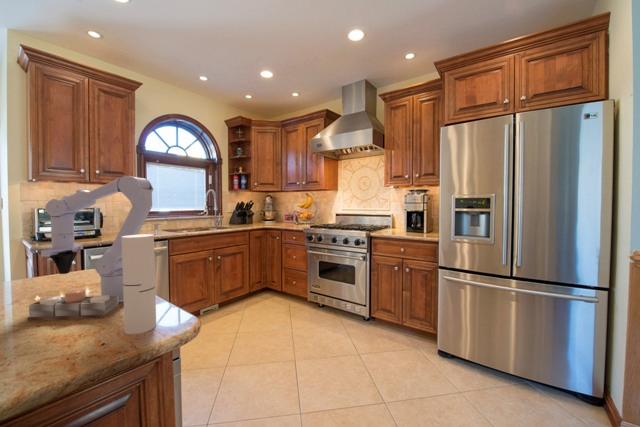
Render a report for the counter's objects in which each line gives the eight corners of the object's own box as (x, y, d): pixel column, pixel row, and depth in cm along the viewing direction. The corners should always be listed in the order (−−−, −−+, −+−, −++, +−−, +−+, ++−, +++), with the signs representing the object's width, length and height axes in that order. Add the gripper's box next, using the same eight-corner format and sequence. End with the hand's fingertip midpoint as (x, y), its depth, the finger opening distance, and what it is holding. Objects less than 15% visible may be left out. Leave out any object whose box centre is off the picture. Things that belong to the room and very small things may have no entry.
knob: (113, 307, 85) (113, 294, 85) (103, 313, 81) (102, 299, 80) (98, 307, 85) (97, 295, 85) (86, 313, 80) (86, 300, 80)
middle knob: (89, 301, 85) (89, 289, 84) (77, 307, 80) (77, 294, 80) (74, 302, 84) (73, 289, 84) (61, 308, 80) (60, 294, 80)
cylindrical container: (128, 324, 75) (125, 235, 74) (158, 320, 78) (155, 233, 77) (121, 336, 69) (118, 238, 68) (153, 331, 72) (151, 236, 71)
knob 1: (65, 308, 84) (65, 295, 84) (52, 314, 80) (51, 301, 80) (50, 309, 84) (49, 296, 84) (35, 315, 79) (35, 301, 79)
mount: (119, 309, 86) (119, 295, 86) (104, 318, 80) (103, 303, 80) (49, 311, 85) (49, 297, 85) (28, 320, 78) (27, 305, 78)
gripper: (68, 232, 101) (69, 268, 101) (29, 237, 86) (31, 279, 87) (88, 232, 101) (89, 268, 102) (54, 236, 87) (55, 279, 87)
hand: (64, 273), depth 94 cm, fingers closed
